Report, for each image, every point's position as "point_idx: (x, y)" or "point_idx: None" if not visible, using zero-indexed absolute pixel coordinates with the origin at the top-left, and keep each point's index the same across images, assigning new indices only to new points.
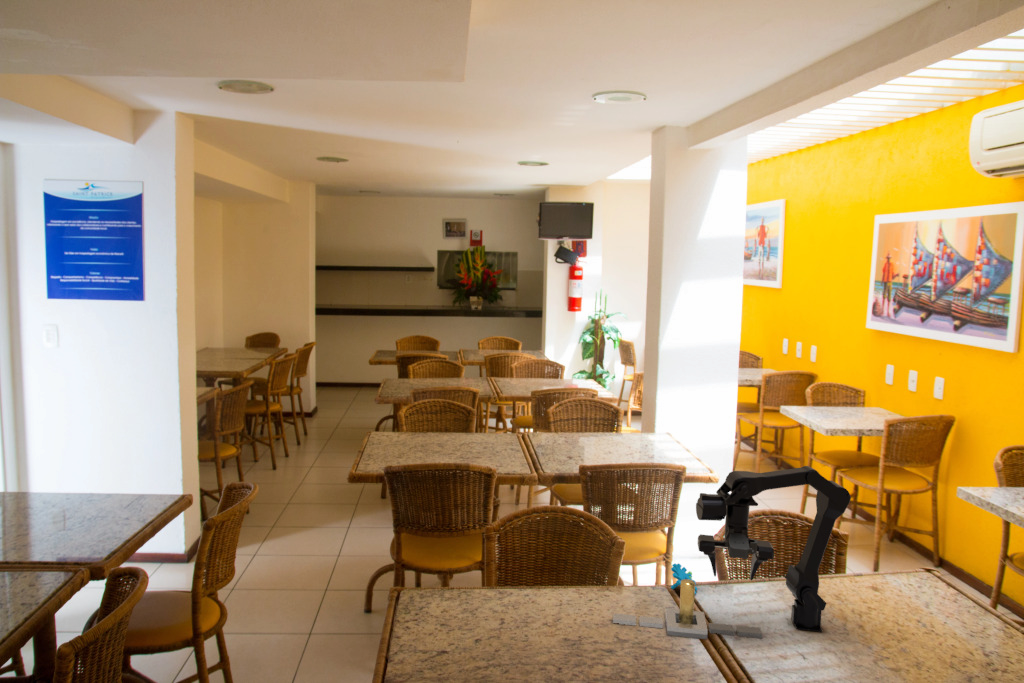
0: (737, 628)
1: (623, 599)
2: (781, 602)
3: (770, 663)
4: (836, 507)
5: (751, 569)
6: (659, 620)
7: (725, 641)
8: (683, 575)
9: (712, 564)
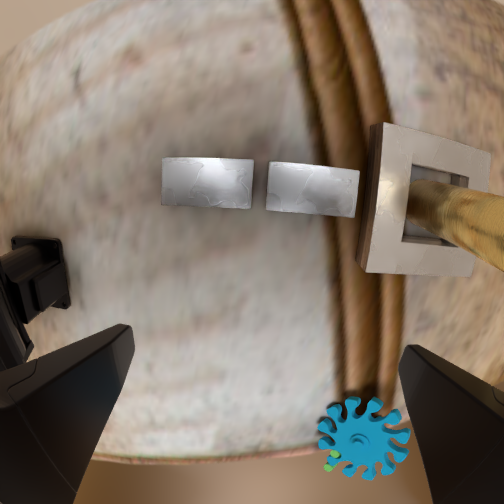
0: (250, 184)
1: (501, 336)
2: None
3: (183, 10)
4: None
5: (96, 396)
6: None
7: (308, 115)
8: (367, 448)
9: (493, 389)
